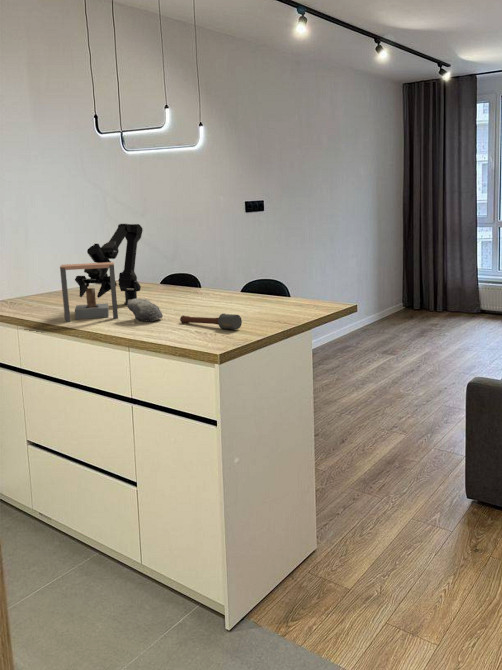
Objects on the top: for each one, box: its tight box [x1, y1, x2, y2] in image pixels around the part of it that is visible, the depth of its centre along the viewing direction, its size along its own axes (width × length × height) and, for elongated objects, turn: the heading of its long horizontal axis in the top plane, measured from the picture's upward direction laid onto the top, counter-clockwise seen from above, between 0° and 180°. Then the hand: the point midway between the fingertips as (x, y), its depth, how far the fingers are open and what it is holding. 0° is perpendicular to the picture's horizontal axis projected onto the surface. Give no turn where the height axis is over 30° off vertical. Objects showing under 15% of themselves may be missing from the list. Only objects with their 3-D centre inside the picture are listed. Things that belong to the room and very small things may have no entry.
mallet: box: [179, 313, 243, 330], centre depth 248 cm, size 6×6×30 cm
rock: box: [126, 298, 164, 323], centre depth 265 cm, size 11×17×10 cm, turn 45°
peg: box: [85, 287, 97, 308], centre depth 279 cm, size 4×4×12 cm
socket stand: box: [59, 261, 119, 323], centre depth 276 cm, size 19×22×24 cm
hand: (89, 297), depth 278 cm, fingers open, 9 cm apart
